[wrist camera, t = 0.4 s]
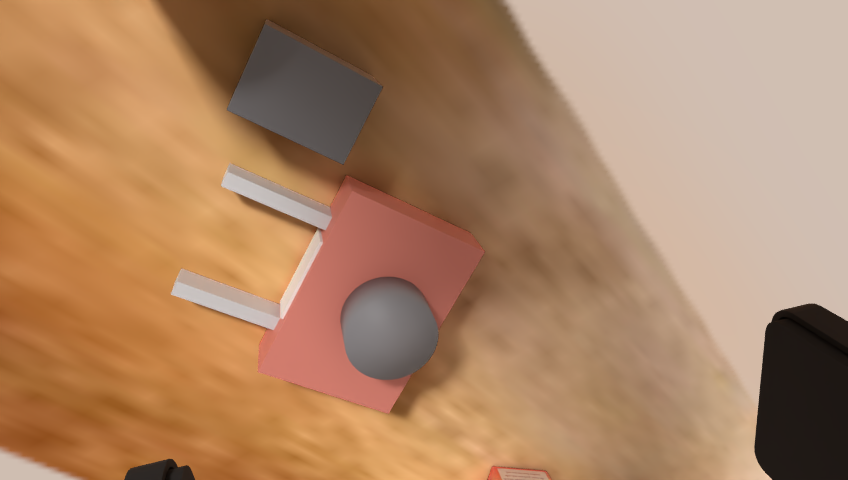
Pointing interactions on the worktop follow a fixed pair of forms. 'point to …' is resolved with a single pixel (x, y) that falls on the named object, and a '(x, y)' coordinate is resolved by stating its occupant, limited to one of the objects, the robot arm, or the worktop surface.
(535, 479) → the cracker box
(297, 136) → the gray rectangular box
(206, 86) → the worktop surface
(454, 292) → the pink two-prong plug
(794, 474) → the robot arm
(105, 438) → the worktop surface
